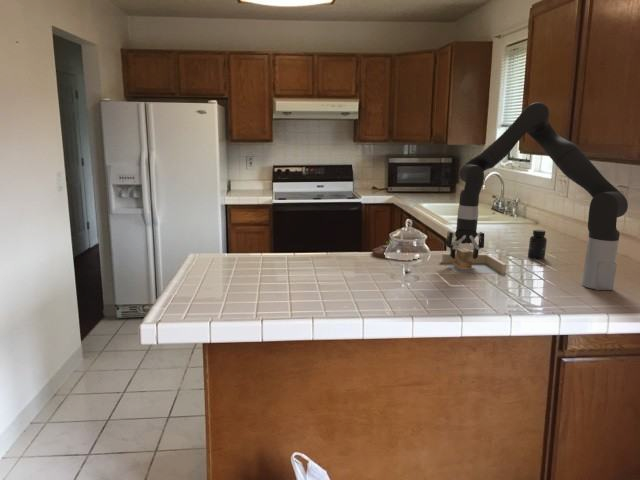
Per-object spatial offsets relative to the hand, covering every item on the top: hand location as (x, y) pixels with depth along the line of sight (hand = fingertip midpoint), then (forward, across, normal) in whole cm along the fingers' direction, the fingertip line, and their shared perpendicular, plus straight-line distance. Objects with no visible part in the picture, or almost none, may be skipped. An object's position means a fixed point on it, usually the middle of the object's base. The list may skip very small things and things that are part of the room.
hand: (463, 258), depth 203 cm
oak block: (+3, 0, 0) cm, 3 cm away
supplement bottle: (+4, -39, -18) cm, 43 cm away
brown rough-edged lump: (+4, +21, -20) cm, 30 cm away
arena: (+4, -3, +2) cm, 5 cm away
